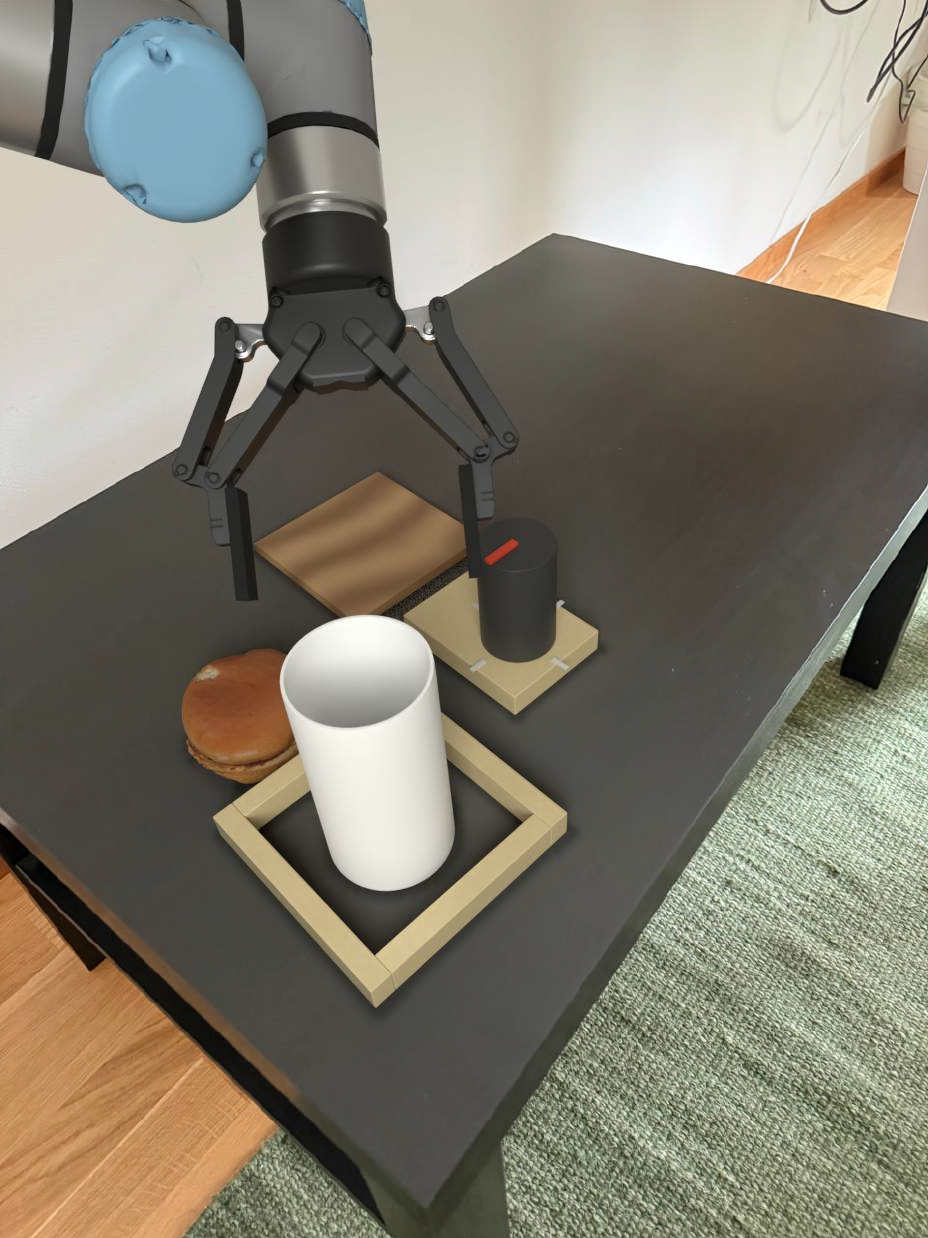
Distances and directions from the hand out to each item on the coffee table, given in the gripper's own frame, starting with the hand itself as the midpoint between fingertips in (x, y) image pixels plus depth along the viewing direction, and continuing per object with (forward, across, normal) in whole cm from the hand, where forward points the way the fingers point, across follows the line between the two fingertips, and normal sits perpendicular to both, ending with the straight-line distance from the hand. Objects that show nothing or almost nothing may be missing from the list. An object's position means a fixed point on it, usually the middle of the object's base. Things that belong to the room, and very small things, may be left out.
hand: (362, 589), depth 55 cm
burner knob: (+4, -10, -14) cm, 18 cm away
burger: (+9, +10, -12) cm, 18 cm away
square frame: (+16, 0, -5) cm, 17 cm away
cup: (+16, 0, -5) cm, 17 cm away
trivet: (-4, +1, -25) cm, 26 cm away
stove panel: (+4, -9, -16) cm, 19 cm away
